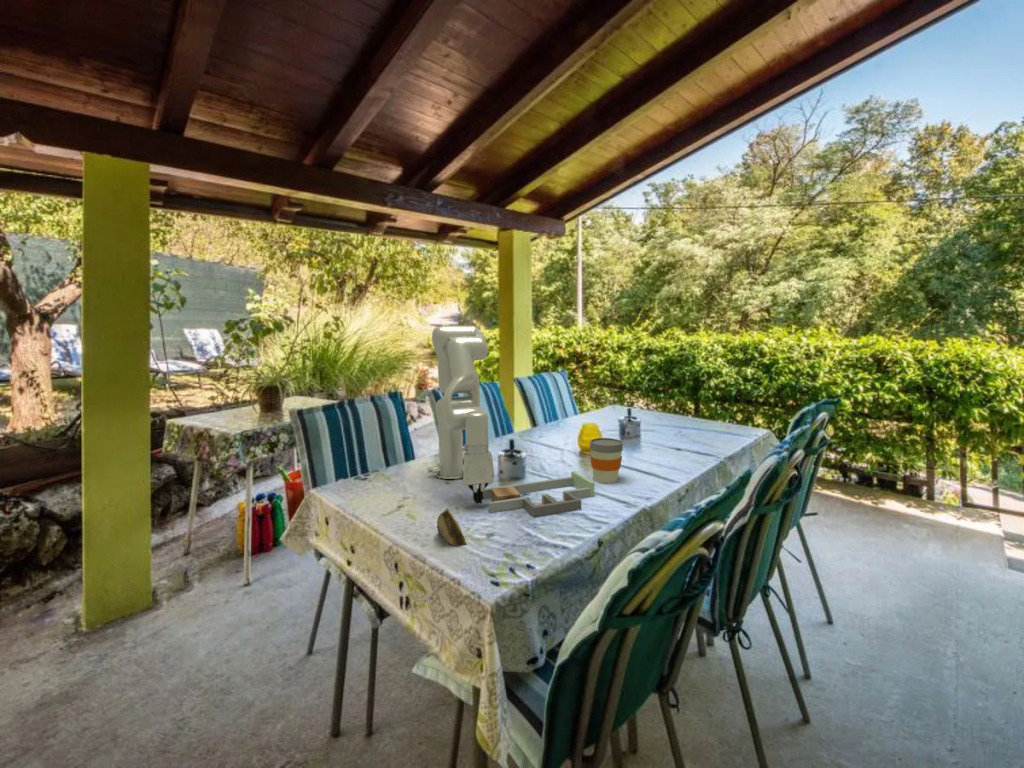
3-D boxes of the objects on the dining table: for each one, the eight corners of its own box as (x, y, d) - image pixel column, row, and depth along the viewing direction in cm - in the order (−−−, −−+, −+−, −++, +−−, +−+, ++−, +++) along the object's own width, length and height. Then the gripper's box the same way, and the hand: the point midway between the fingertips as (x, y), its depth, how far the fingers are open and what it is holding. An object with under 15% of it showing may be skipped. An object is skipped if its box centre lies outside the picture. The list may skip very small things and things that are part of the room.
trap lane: (498, 523, 144) (498, 507, 143) (477, 498, 165) (476, 484, 164) (607, 504, 158) (607, 490, 157) (574, 483, 179) (574, 471, 178)
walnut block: (497, 508, 156) (496, 496, 156) (491, 499, 164) (491, 488, 164) (520, 505, 159) (520, 494, 158) (513, 497, 166) (513, 486, 166)
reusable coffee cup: (623, 476, 187) (624, 439, 186) (620, 486, 176) (621, 447, 174) (592, 473, 192) (592, 436, 190) (586, 482, 180) (586, 444, 178)
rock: (428, 524, 138) (426, 534, 128) (445, 500, 139) (444, 508, 129) (458, 545, 139) (458, 556, 129) (475, 520, 140) (477, 530, 130)
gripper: (457, 453, 149) (459, 509, 151) (502, 449, 154) (503, 503, 157) (452, 448, 156) (453, 501, 158) (494, 443, 161) (495, 495, 164)
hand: (478, 502), depth 158 cm, fingers closed
